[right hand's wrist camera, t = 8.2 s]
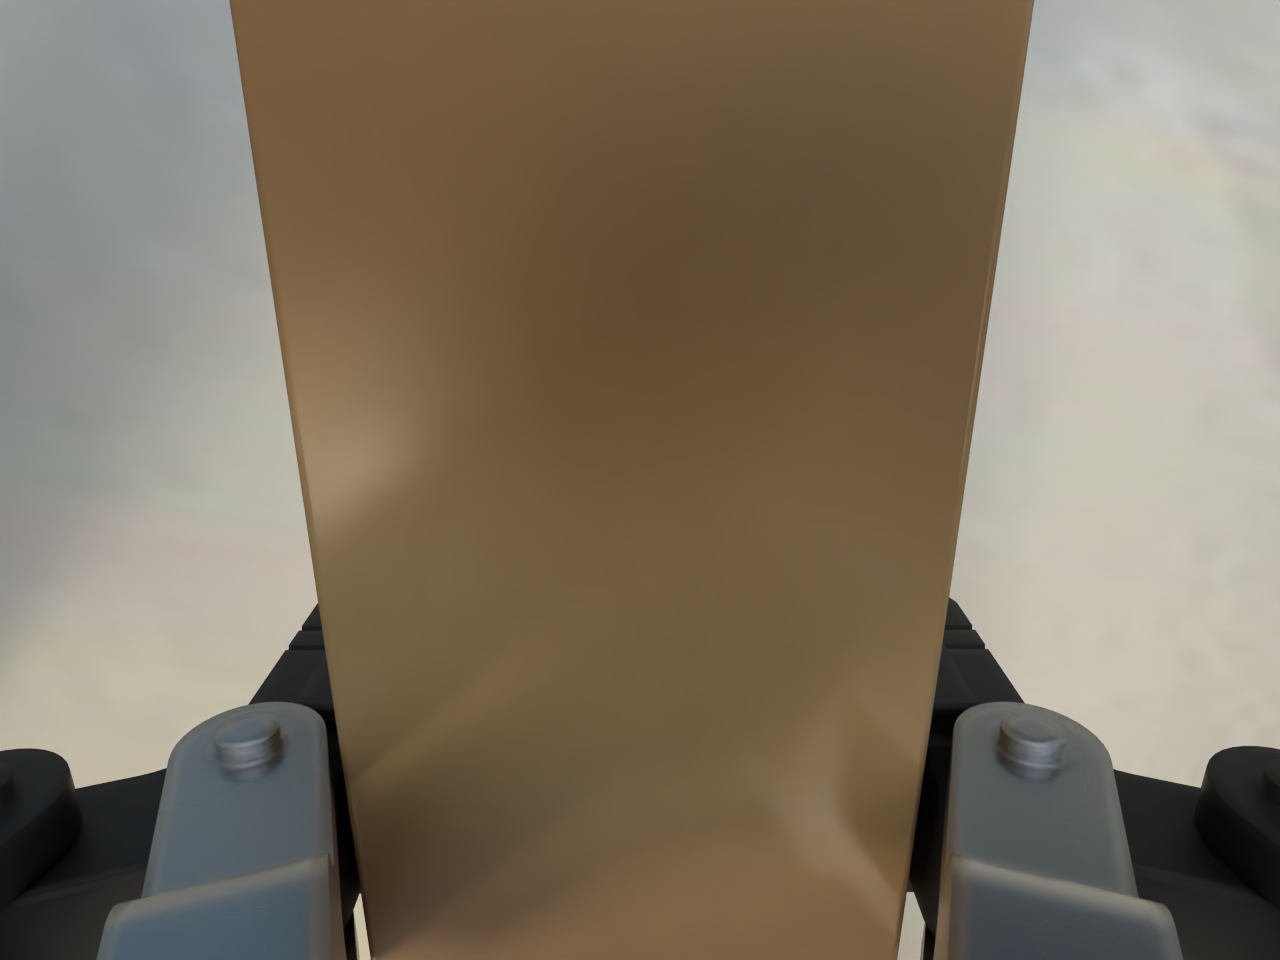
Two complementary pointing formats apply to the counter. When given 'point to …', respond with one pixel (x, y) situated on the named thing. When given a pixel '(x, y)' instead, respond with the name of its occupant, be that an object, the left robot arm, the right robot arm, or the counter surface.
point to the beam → (632, 446)
